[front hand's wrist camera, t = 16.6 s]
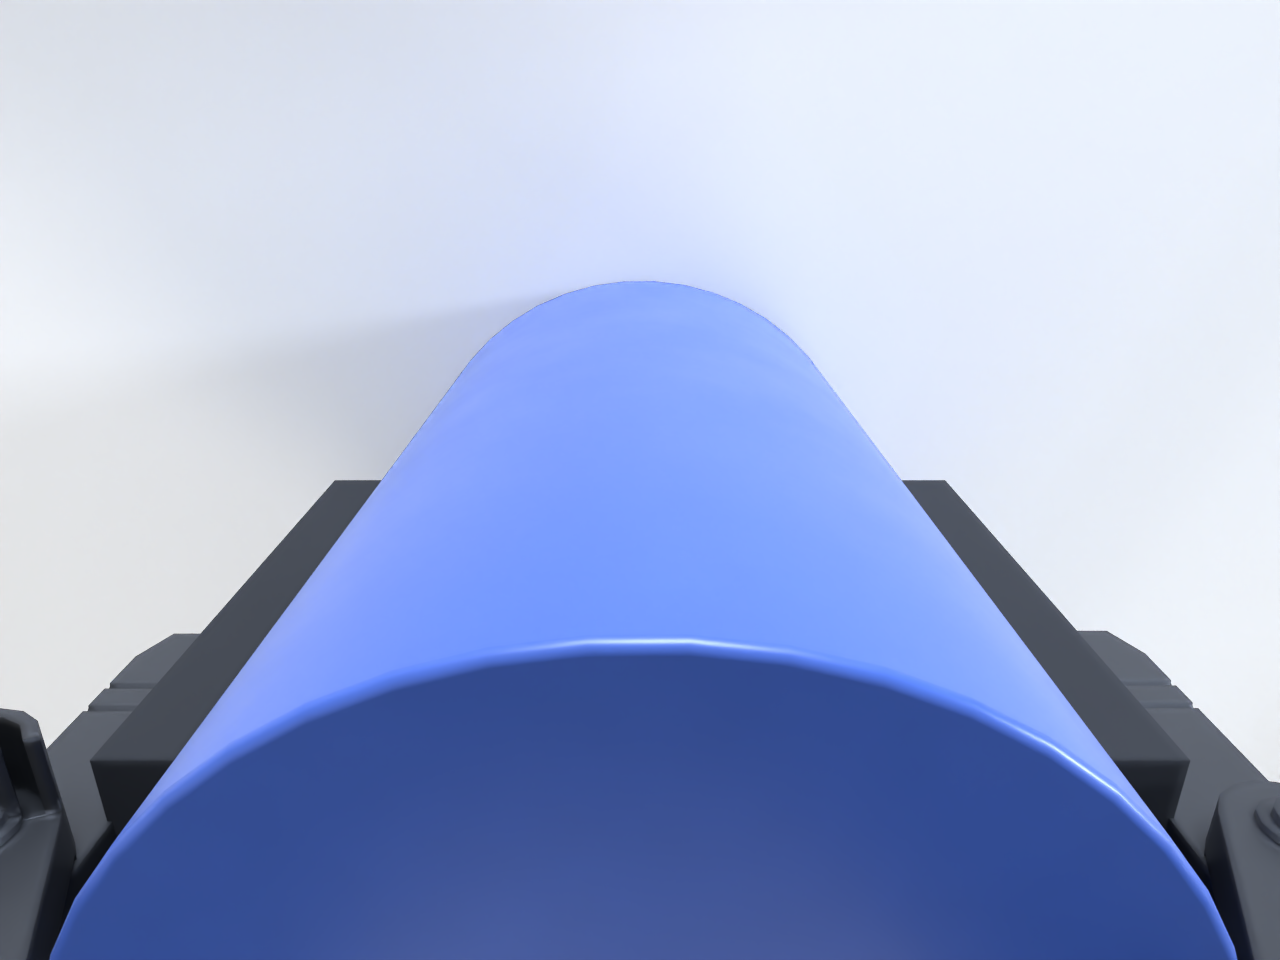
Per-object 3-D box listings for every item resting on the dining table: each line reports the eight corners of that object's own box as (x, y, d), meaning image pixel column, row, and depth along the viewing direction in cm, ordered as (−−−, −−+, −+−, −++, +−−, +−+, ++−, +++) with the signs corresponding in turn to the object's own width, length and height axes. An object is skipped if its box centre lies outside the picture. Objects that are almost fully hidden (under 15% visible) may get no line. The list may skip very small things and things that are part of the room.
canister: (728, 725, 19) (849, 1536, 8) (371, 580, 17) (-68, 1314, 7) (933, 399, 16) (1543, 951, 5) (529, 198, 15) (227, 383, 4)
